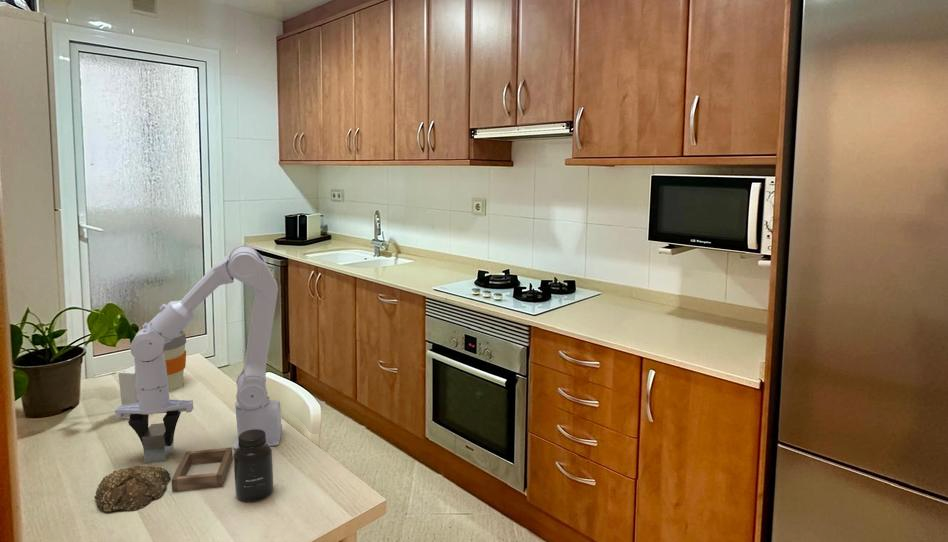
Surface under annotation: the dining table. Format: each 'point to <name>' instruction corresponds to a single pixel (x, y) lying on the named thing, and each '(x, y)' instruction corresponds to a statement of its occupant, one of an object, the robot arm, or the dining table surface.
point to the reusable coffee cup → (175, 360)
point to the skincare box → (128, 387)
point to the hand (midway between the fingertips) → (158, 444)
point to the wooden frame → (202, 480)
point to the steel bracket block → (156, 444)
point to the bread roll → (131, 488)
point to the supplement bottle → (253, 466)
